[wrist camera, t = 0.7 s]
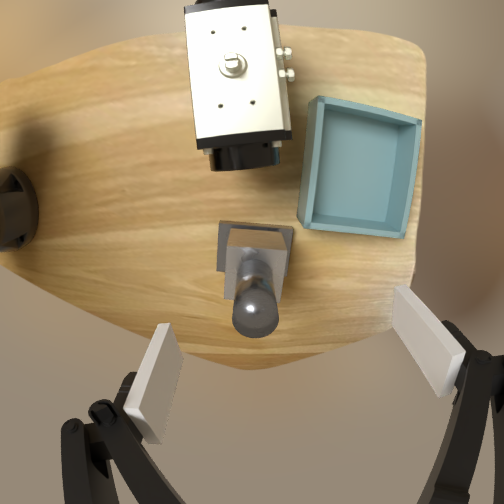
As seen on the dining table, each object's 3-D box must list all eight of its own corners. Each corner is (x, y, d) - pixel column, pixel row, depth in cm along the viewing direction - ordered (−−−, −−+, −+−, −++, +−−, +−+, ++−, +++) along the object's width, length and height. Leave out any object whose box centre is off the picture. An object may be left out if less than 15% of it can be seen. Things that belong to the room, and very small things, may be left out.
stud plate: (217, 266, 44) (210, 295, 36) (220, 220, 42) (212, 239, 34) (285, 272, 44) (292, 301, 36) (291, 226, 42) (301, 247, 34)
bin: (296, 216, 42) (303, 228, 36) (308, 102, 36) (318, 95, 30) (386, 226, 42) (403, 238, 36) (401, 121, 36) (421, 120, 31)
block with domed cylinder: (227, 274, 42) (216, 346, 27) (230, 228, 39) (218, 282, 24) (275, 277, 42) (287, 351, 27) (281, 232, 39) (299, 288, 24)
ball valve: (283, 157, 39) (308, 167, 22) (220, 163, 39) (196, 178, 22) (269, 33, 32) (281, -32, 16) (206, 40, 33) (178, -20, 16)
